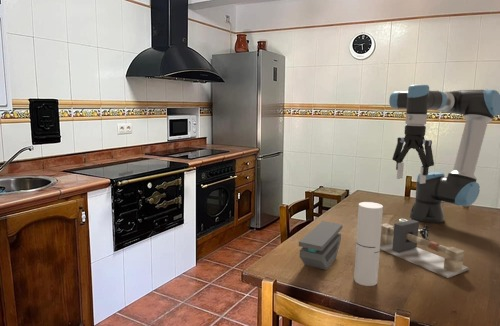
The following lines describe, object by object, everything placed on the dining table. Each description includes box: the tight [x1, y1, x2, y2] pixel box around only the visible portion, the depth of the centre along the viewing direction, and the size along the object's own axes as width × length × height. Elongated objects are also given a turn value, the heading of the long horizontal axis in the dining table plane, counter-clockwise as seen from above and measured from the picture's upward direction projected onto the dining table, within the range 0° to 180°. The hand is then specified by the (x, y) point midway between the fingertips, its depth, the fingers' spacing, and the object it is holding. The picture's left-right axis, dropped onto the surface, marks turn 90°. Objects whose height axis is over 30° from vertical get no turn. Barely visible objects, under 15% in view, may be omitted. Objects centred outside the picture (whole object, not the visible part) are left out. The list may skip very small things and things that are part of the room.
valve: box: [398, 218, 430, 240], centre depth 158 cm, size 7×7×12 cm
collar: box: [392, 219, 420, 253], centre depth 141 cm, size 3×10×10 cm, turn 121°
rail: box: [380, 222, 470, 279], centre depth 137 cm, size 32×12×8 cm, turn 31°
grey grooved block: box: [298, 220, 343, 271], centre depth 131 cm, size 25×8×11 cm, turn 151°
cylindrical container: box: [353, 201, 384, 287], centre depth 117 cm, size 7×7×25 cm
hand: (410, 180), depth 149 cm, fingers open, 10 cm apart
